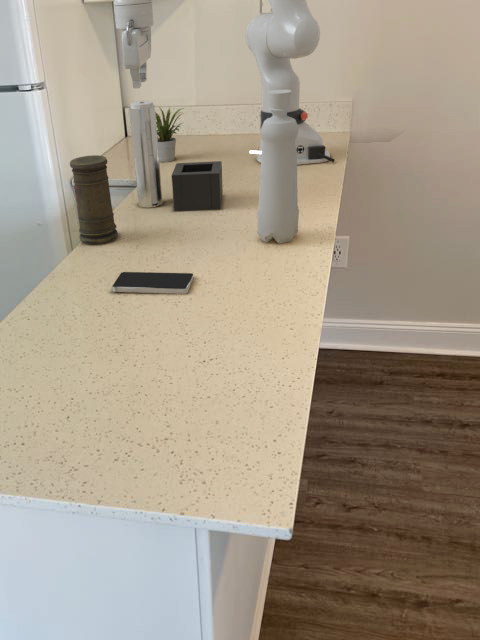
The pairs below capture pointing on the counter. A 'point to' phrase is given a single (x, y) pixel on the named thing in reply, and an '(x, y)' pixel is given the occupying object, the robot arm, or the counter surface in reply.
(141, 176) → the silver tall cylinder
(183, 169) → the box
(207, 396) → the counter surface
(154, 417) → the counter surface
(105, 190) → the container
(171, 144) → the house plant
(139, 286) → the smartphone
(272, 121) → the bottle
